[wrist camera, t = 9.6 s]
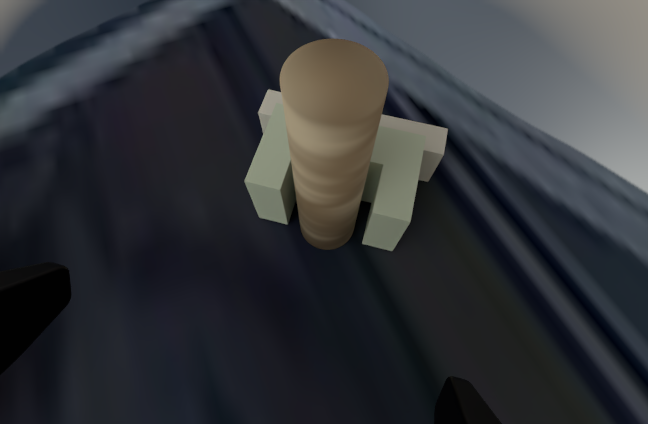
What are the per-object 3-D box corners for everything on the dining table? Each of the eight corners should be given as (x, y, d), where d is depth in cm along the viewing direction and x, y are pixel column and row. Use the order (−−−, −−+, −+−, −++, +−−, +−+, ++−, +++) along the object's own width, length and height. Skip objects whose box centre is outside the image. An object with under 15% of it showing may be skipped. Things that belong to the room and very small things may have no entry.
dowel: (304, 253, 23) (287, 129, 11) (296, 203, 24) (273, 45, 12) (359, 244, 23) (401, 113, 11) (348, 195, 25) (374, 33, 13)
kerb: (428, 182, 25) (443, 154, 22) (265, 144, 26) (258, 112, 23) (432, 158, 26) (447, 128, 23) (274, 122, 27) (268, 89, 24)
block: (392, 251, 23) (410, 222, 18) (259, 217, 24) (244, 181, 19) (406, 178, 25) (426, 136, 20) (284, 149, 26) (276, 102, 21)
